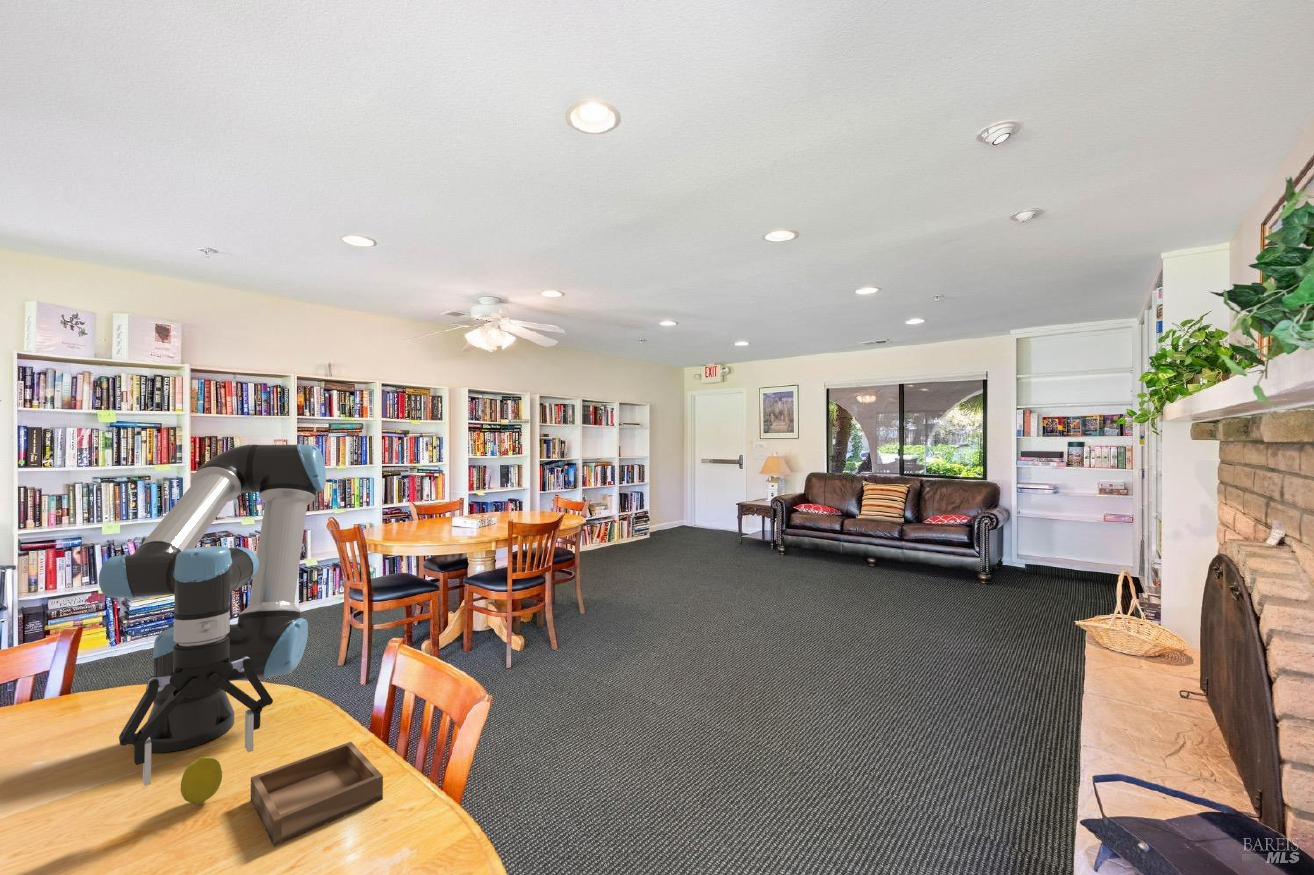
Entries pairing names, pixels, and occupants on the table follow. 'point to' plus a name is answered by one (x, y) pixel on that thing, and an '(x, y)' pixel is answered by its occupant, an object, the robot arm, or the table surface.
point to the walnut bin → (314, 791)
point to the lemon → (201, 780)
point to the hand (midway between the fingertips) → (200, 764)
